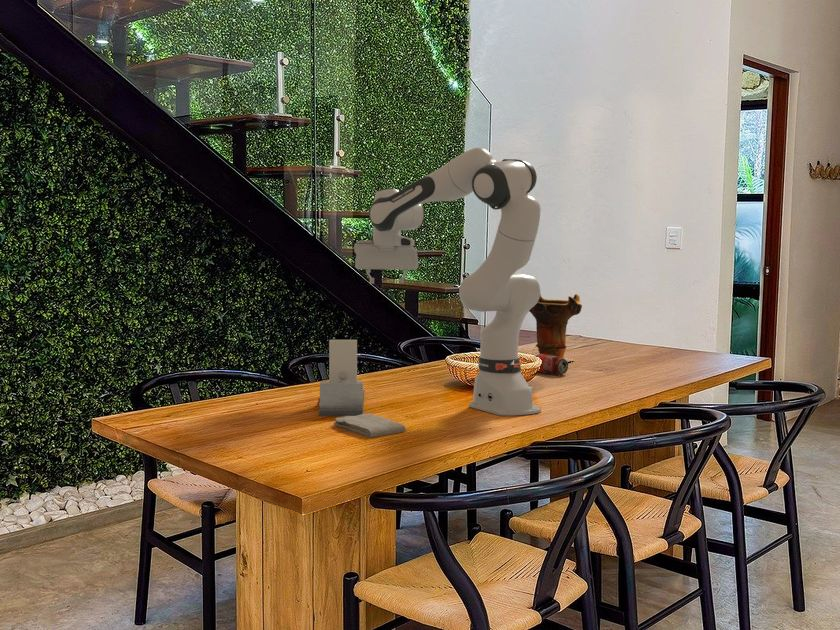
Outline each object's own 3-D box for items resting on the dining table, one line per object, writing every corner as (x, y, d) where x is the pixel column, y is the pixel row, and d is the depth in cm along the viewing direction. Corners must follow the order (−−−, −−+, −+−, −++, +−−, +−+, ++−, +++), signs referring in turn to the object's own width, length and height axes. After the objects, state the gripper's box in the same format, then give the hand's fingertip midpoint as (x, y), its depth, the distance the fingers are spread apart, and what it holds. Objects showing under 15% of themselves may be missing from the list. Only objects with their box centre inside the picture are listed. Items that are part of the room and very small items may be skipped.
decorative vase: (582, 364, 338) (580, 291, 336) (522, 365, 343) (519, 293, 341) (584, 357, 359) (582, 288, 356) (526, 358, 363) (524, 289, 361)
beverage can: (557, 377, 314) (558, 358, 313) (532, 372, 323) (532, 354, 322) (570, 375, 318) (571, 356, 318) (545, 370, 327) (545, 352, 327)
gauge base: (324, 395, 277) (323, 368, 276) (364, 395, 277) (364, 368, 276) (317, 415, 247) (317, 385, 246) (362, 415, 247) (362, 385, 247)
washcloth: (366, 421, 243) (366, 410, 243) (407, 433, 229) (408, 422, 229) (330, 427, 235) (330, 415, 235) (370, 440, 222) (370, 428, 221)
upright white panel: (322, 395, 266) (322, 338, 264) (357, 395, 267) (357, 338, 265) (321, 400, 258) (321, 342, 256) (356, 400, 259) (356, 342, 257)
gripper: (353, 240, 280) (353, 284, 281) (418, 240, 281) (418, 284, 282) (354, 239, 286) (354, 282, 288) (417, 240, 287) (417, 283, 289)
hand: (386, 283), depth 285 cm, fingers open, 8 cm apart
